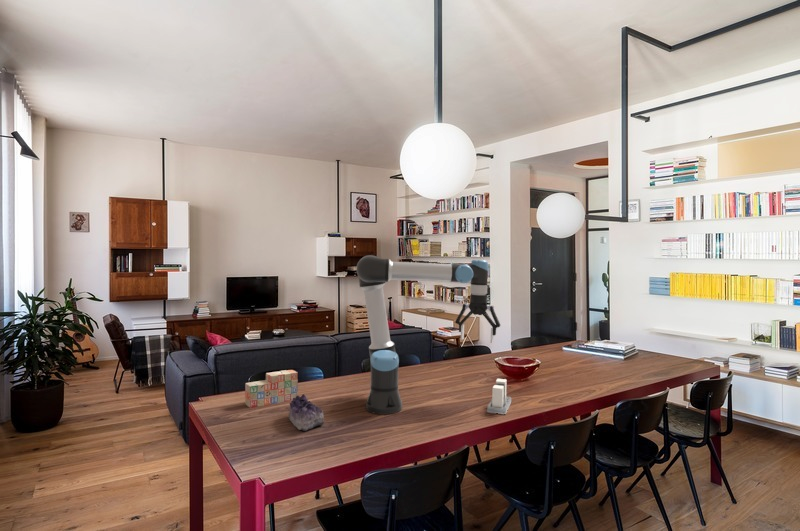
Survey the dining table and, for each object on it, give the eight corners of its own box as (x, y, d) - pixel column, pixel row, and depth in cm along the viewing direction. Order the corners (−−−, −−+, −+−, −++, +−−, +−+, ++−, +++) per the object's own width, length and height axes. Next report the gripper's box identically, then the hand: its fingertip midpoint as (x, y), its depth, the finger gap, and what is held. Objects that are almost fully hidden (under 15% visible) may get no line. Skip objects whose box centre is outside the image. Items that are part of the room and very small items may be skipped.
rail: (505, 414, 193) (505, 409, 193) (487, 412, 195) (487, 407, 195) (511, 401, 209) (511, 396, 209) (494, 399, 212) (494, 394, 212)
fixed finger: (492, 411, 196) (492, 387, 196) (494, 407, 201) (494, 384, 201) (501, 412, 195) (502, 388, 195) (503, 408, 200) (504, 385, 199)
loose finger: (506, 402, 207) (506, 379, 207) (504, 405, 202) (505, 382, 202) (497, 400, 208) (497, 378, 208) (495, 404, 204) (495, 381, 203)
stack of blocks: (249, 408, 197) (249, 379, 196) (245, 404, 202) (245, 375, 201) (297, 399, 209) (297, 371, 209) (292, 395, 214) (292, 369, 214)
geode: (277, 418, 186) (280, 392, 187) (305, 416, 193) (308, 391, 193) (297, 433, 169) (300, 404, 170) (326, 430, 176) (329, 403, 176)
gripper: (507, 295, 211) (506, 342, 212) (454, 291, 221) (452, 336, 222) (505, 296, 204) (503, 345, 205) (449, 293, 214) (447, 339, 215)
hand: (476, 341), depth 213 cm, fingers open, 13 cm apart
